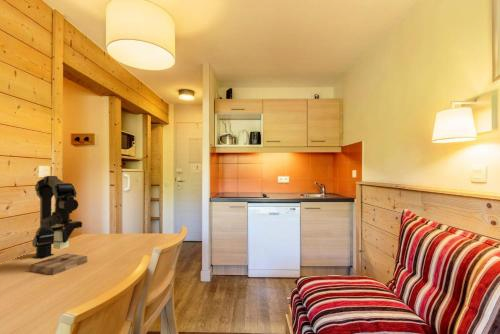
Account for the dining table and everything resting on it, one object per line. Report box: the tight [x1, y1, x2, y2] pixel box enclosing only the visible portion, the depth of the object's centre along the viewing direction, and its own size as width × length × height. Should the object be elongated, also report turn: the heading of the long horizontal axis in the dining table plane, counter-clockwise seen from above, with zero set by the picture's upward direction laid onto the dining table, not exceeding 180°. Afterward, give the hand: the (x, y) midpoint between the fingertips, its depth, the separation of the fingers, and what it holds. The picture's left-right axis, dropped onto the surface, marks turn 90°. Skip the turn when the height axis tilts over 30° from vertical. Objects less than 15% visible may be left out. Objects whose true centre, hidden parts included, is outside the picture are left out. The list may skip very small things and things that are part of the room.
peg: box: [53, 230, 70, 250], centre depth 114 cm, size 4×4×8 cm
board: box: [30, 253, 88, 276], centre depth 113 cm, size 14×16×3 cm
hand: (61, 242), depth 114 cm, fingers closed on peg, 4 cm apart
